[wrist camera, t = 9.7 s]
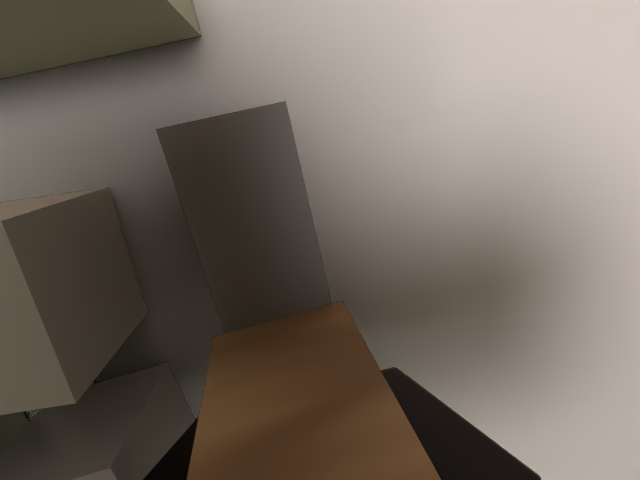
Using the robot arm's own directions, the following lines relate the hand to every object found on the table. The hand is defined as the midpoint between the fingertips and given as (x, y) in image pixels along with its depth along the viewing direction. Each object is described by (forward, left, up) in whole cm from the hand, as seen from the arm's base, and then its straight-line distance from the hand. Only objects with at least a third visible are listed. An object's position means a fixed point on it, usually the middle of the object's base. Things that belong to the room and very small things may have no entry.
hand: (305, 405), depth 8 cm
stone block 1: (+7, -3, -4) cm, 9 cm away
